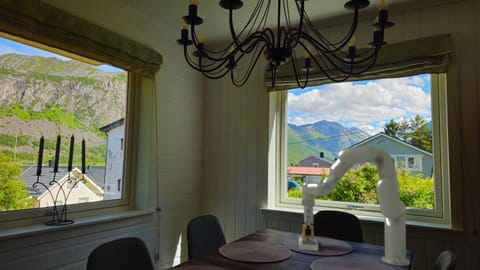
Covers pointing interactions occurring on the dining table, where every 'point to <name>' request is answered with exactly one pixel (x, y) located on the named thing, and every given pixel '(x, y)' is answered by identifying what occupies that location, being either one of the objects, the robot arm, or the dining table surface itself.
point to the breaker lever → (304, 232)
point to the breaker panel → (308, 243)
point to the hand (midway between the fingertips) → (308, 234)
